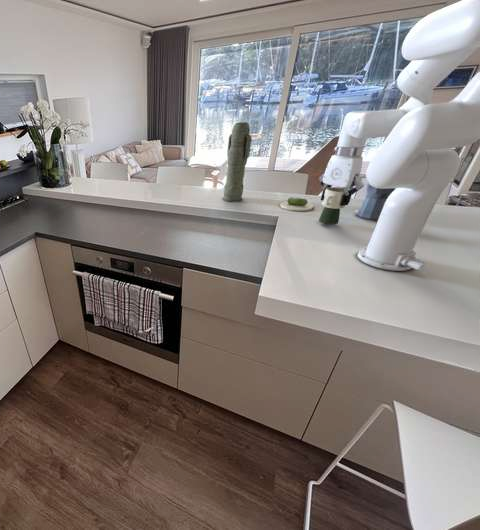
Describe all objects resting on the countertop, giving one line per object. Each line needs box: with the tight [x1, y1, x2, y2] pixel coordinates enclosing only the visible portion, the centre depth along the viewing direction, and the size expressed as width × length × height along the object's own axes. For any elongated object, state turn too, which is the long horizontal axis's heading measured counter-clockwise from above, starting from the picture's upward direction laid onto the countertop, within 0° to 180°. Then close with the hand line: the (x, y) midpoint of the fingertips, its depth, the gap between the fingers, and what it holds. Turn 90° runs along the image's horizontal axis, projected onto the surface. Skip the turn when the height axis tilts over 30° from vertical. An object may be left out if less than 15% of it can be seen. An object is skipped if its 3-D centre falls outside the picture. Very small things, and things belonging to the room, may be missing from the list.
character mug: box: [318, 186, 346, 225], centre depth 107 cm, size 11×7×13 cm, turn 120°
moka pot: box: [356, 182, 396, 221], centre depth 108 cm, size 10×15×20 cm, turn 174°
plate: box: [279, 200, 314, 212], centre depth 130 cm, size 13×13×1 cm
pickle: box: [286, 196, 308, 206], centre depth 129 cm, size 8×3×3 cm, turn 46°
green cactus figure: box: [223, 122, 252, 203], centre depth 137 cm, size 9×12×35 cm
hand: (333, 202), depth 106 cm, fingers closed on character mug, 7 cm apart
